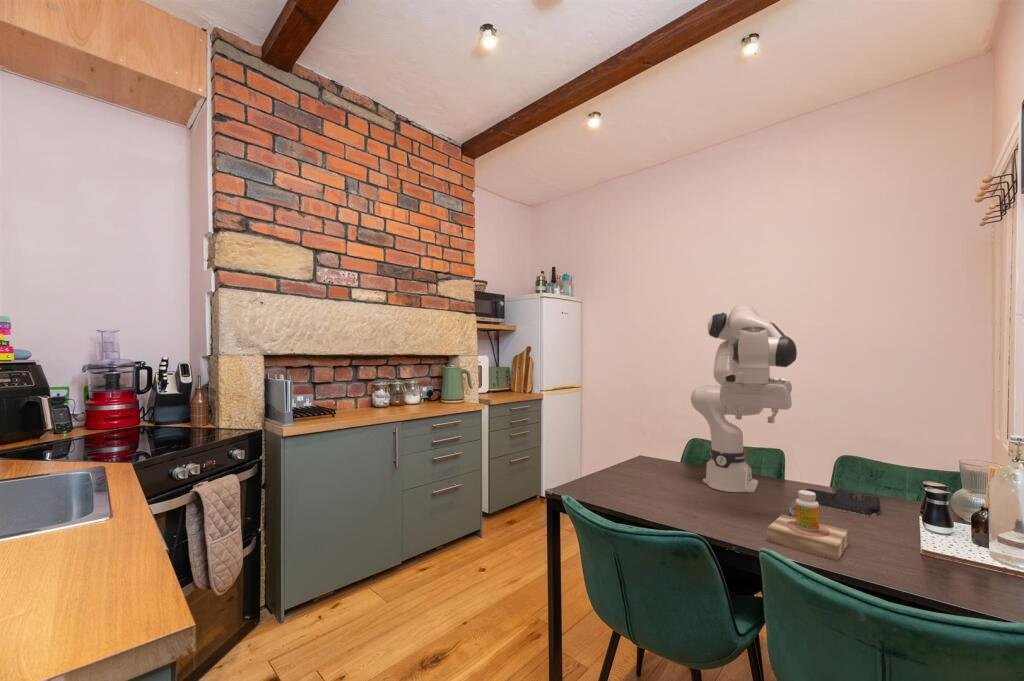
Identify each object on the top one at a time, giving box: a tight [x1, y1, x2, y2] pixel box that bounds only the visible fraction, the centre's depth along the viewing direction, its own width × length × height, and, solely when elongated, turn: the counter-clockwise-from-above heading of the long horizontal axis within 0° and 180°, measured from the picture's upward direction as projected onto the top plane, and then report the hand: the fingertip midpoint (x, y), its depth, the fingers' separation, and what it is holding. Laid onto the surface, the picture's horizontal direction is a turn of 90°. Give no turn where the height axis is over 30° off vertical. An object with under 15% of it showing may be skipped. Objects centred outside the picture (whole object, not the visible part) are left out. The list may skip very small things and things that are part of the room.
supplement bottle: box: [795, 489, 820, 531], centre depth 121 cm, size 5×5×10 cm
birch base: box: [766, 514, 850, 561], centre depth 120 cm, size 14×16×4 cm
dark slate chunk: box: [805, 488, 881, 516], centre depth 150 cm, size 15×22×5 cm
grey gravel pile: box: [788, 501, 796, 518], centre depth 137 cm, size 11×8×4 cm
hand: (754, 420), depth 139 cm, fingers open, 8 cm apart
